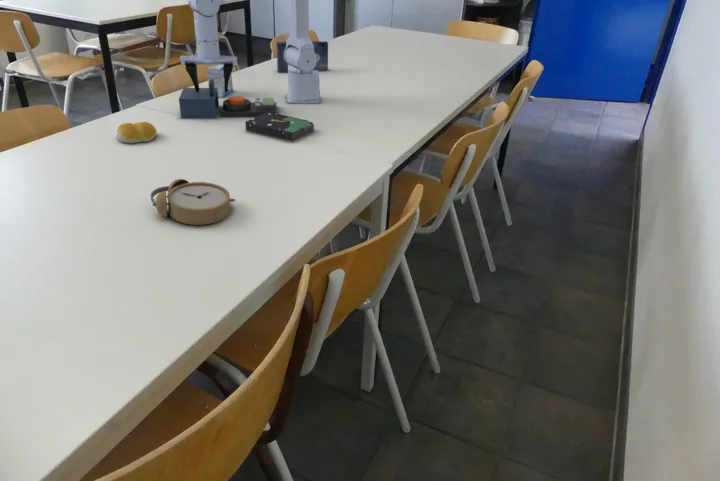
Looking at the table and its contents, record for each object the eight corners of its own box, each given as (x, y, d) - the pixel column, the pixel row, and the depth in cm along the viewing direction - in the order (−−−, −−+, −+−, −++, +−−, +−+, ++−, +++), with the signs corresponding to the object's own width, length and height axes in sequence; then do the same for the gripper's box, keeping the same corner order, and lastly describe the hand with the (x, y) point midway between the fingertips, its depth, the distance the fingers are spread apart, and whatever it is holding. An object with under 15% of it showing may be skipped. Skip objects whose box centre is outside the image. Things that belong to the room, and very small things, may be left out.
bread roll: (161, 140, 134) (158, 124, 132) (122, 146, 130) (119, 130, 127) (151, 129, 140) (149, 114, 138) (114, 135, 135) (111, 119, 133)
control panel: (276, 107, 160) (276, 97, 159) (277, 117, 153) (276, 106, 151) (224, 107, 158) (223, 97, 157) (222, 117, 150) (221, 106, 149)
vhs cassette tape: (326, 69, 202) (326, 40, 197) (328, 71, 199) (328, 42, 194) (276, 70, 196) (276, 41, 191) (278, 72, 194) (277, 43, 189)
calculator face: (274, 97, 158) (273, 96, 158) (274, 106, 152) (274, 105, 151) (255, 97, 158) (255, 96, 157) (255, 106, 151) (255, 105, 151)
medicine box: (223, 98, 166) (220, 69, 161) (209, 96, 166) (206, 67, 162) (233, 91, 172) (231, 63, 168) (220, 89, 173) (217, 61, 168)
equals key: (245, 100, 156) (245, 95, 155) (245, 105, 152) (244, 100, 151) (228, 100, 155) (228, 95, 154) (228, 105, 151) (227, 100, 151)
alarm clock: (216, 215, 97) (137, 191, 97) (214, 238, 99) (137, 215, 100) (240, 189, 106) (167, 167, 107) (237, 210, 109) (166, 189, 110)
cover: (219, 106, 158) (216, 76, 154) (216, 118, 150) (213, 87, 145) (185, 106, 157) (182, 76, 153) (181, 118, 148) (177, 86, 144)
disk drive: (245, 132, 142) (293, 142, 136) (244, 121, 140) (293, 132, 135) (267, 121, 150) (314, 130, 145) (267, 111, 148) (314, 120, 143)
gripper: (176, 42, 139) (183, 95, 146) (234, 43, 142) (238, 95, 149) (180, 37, 145) (186, 88, 152) (235, 38, 148) (239, 88, 155)
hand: (212, 91), depth 151 cm, fingers open, 7 cm apart
